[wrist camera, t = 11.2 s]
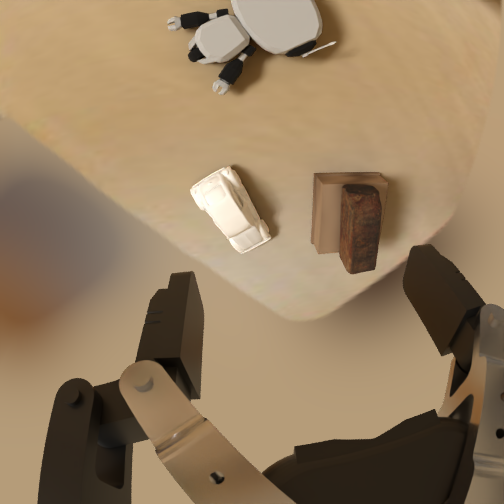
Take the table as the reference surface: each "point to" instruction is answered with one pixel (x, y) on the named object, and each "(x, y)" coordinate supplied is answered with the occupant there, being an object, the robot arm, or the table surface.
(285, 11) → the robot toy
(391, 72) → the table surface
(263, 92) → the table surface
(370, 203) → the brick
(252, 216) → the car
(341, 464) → the robot arm
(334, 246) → the base brick
